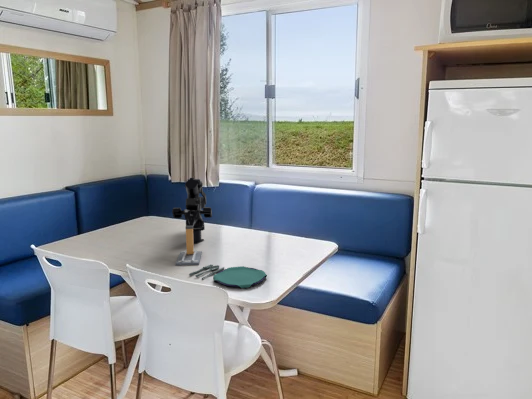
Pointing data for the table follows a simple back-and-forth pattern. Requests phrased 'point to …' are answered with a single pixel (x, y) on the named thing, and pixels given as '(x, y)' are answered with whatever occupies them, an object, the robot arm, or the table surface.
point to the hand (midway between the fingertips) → (191, 227)
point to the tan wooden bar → (189, 240)
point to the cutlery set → (235, 275)
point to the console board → (189, 258)
